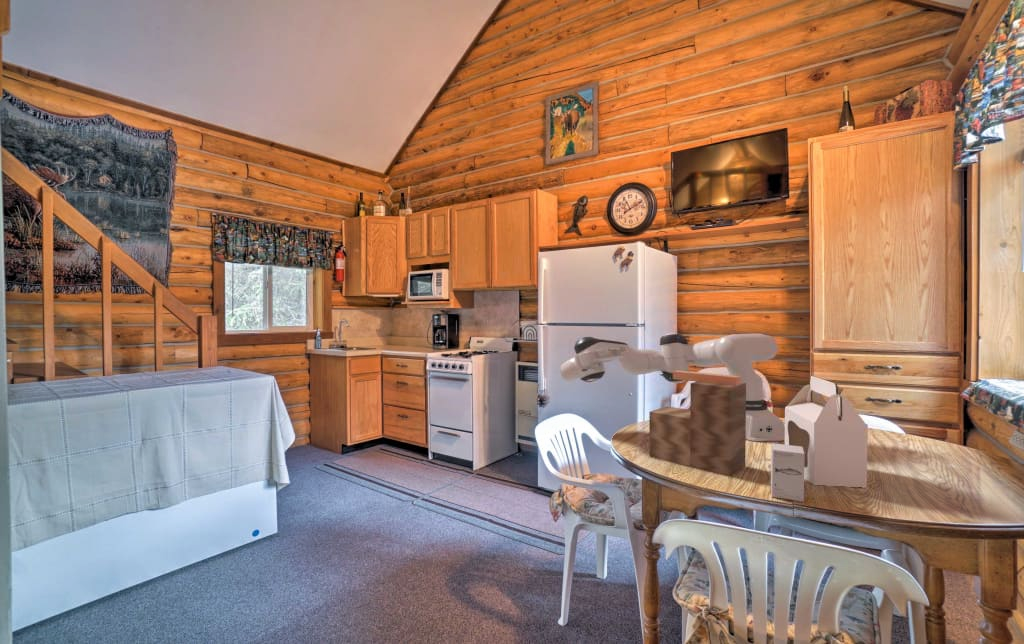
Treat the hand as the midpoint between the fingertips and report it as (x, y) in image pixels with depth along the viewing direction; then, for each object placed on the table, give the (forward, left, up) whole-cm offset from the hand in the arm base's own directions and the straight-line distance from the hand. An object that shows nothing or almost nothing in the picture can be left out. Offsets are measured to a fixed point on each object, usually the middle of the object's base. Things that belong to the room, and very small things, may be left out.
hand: (617, 349), depth 177 cm
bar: (-24, +26, -8) cm, 37 cm away
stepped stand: (-23, +25, -34) cm, 48 cm away
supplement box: (-38, +50, -34) cm, 72 cm away
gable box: (-56, +32, -34) cm, 73 cm away
